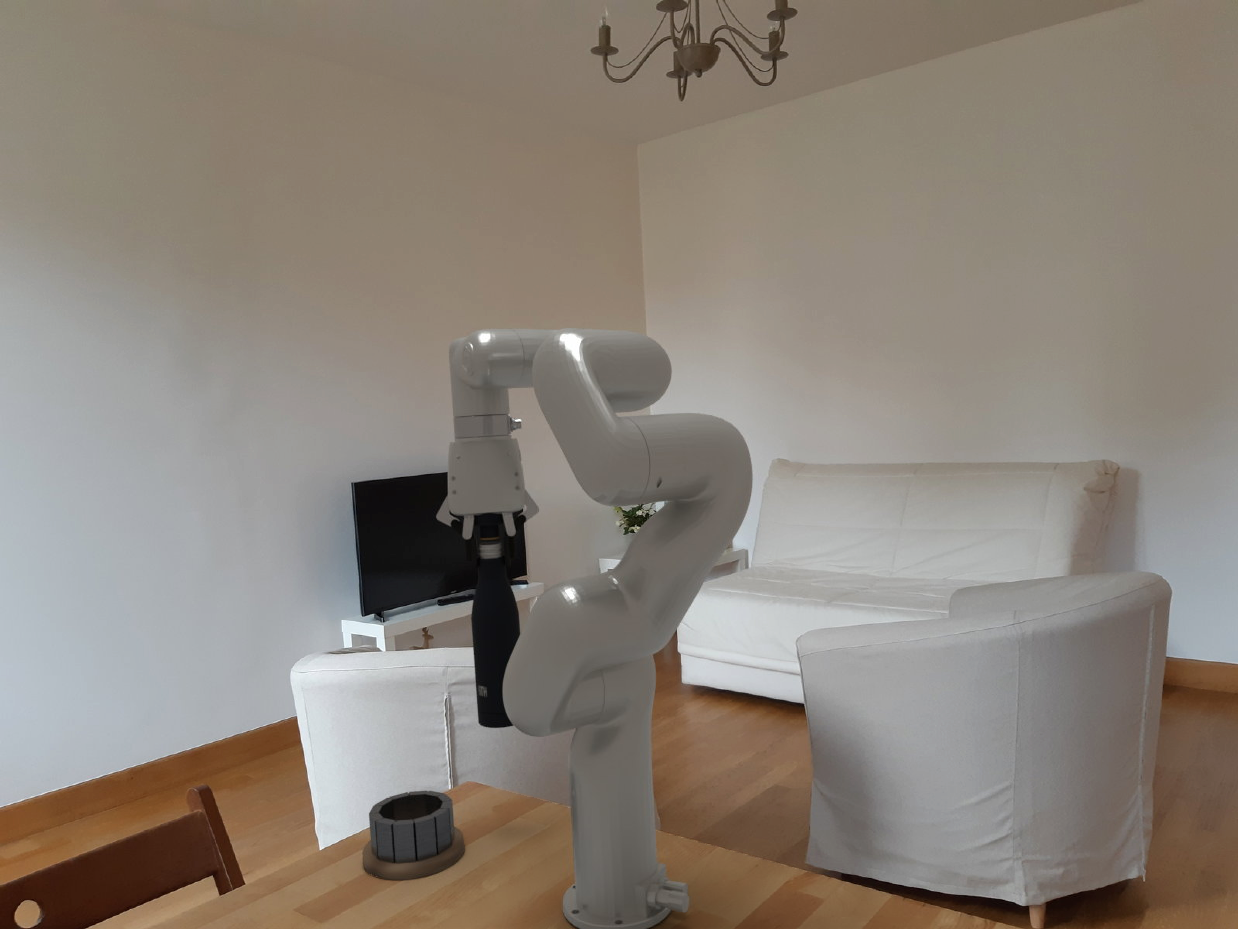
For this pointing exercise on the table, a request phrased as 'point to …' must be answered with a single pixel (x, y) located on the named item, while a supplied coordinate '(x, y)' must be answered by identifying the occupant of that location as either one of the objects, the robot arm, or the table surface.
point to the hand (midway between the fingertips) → (491, 564)
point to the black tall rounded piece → (492, 624)
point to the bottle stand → (412, 836)
